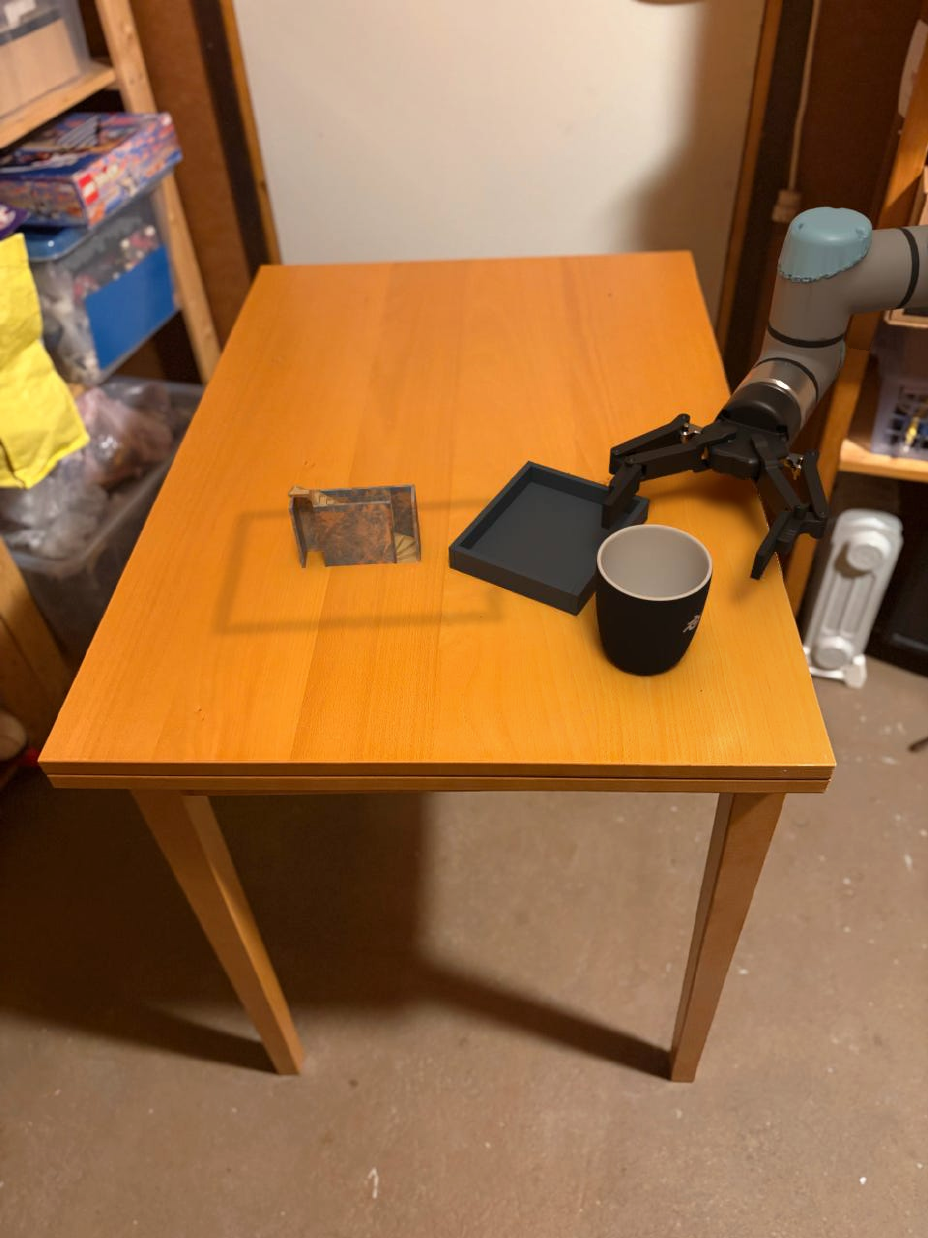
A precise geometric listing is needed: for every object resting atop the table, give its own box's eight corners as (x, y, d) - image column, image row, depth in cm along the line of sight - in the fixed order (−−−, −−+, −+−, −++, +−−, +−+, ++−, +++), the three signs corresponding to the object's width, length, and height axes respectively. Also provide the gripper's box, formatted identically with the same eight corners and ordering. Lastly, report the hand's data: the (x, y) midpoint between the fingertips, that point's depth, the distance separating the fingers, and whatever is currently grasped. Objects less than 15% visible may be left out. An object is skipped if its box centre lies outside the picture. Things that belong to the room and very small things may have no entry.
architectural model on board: (302, 574, 89) (283, 493, 82) (305, 553, 91) (287, 472, 84) (420, 568, 88) (412, 486, 81) (421, 547, 91) (412, 465, 84)
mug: (686, 699, 75) (703, 610, 68) (578, 675, 78) (584, 587, 70) (709, 600, 83) (726, 511, 76) (610, 580, 85) (618, 492, 78)
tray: (647, 519, 91) (650, 498, 90) (577, 616, 82) (578, 596, 81) (528, 480, 97) (528, 460, 95) (449, 567, 88) (448, 547, 86)
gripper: (884, 484, 88) (816, 623, 76) (642, 416, 98) (547, 529, 86) (907, 417, 83) (838, 554, 71) (649, 352, 93) (549, 463, 81)
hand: (678, 541), depth 78 cm, fingers open, 13 cm apart
